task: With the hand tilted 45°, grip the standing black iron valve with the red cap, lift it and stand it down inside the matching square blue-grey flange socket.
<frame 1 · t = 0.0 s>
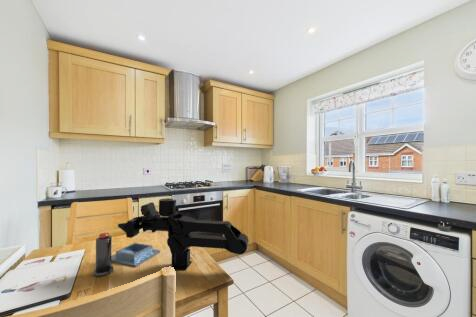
hand: (126, 221, 89), 16 cm above the table, tool horizontal, fingers open, 9 cm apart
valve: (103, 272, 79), on the table
flange socket: (134, 256, 92), on the table
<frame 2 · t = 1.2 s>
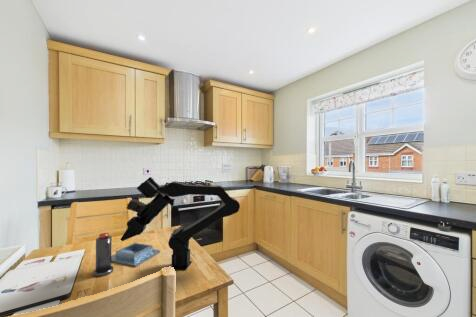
hand: (125, 235, 80), 13 cm above the table, tool tilted 45°, fingers open, 9 cm apart
nothing on the table moved.
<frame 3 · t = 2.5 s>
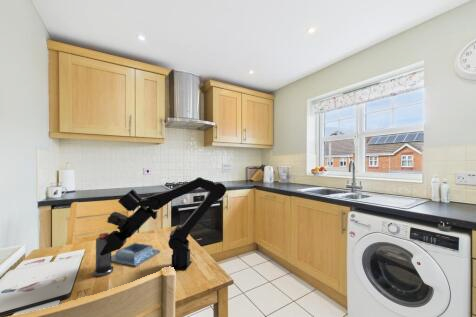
hand: (106, 249, 79), 9 cm above the table, tool tilted 45°, fingers open, 9 cm apart
nothing on the table moved.
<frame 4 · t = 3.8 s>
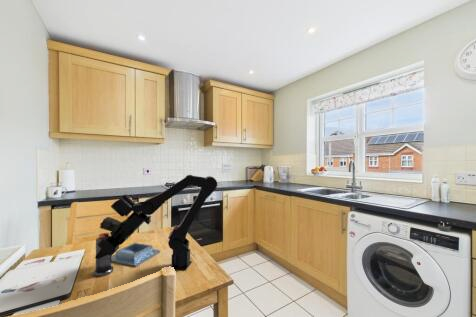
hand: (99, 255, 79), 7 cm above the table, tool tilted 45°, fingers closed on valve, 5 cm apart
valve: (103, 272, 79), on the table, touching gripper
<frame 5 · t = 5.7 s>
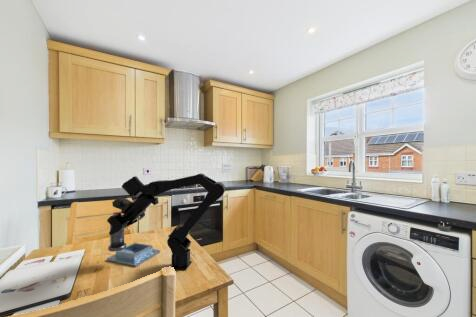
hand: (114, 231, 85), 13 cm above the table, tool tilted 45°, fingers closed on valve, 5 cm apart
valve: (117, 248, 85), point 7 cm above the table, touching gripper
when the fingers open (9 cm above the table, at t = 7.7 s): valve drops 1 cm, resting on flange socket.
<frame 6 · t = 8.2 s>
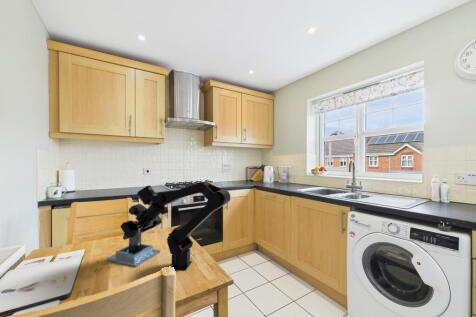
hand: (132, 235, 93), 9 cm above the table, tool tilted 45°, fingers open, 9 cm apart
valve: (134, 254, 92), point 1 cm above the table, touching flange socket
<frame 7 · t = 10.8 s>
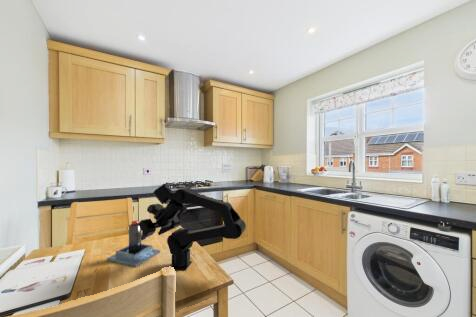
hand: (150, 236, 89), 10 cm above the table, tool tilted 40°, fingers open, 9 cm apart
nothing on the table moved.
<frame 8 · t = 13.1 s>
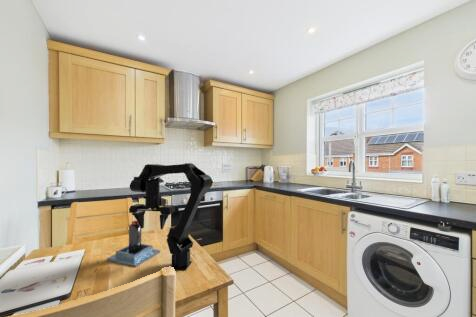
hand: (152, 228, 90), 13 cm above the table, tool pointing down, fingers open, 9 cm apart
nothing on the table moved.
at the end: valve 0.2 cm off-centre on the flange socket, point 1.0 cm above the flange socket's base; valve tilted 0°; the gripper is holding nothing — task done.
